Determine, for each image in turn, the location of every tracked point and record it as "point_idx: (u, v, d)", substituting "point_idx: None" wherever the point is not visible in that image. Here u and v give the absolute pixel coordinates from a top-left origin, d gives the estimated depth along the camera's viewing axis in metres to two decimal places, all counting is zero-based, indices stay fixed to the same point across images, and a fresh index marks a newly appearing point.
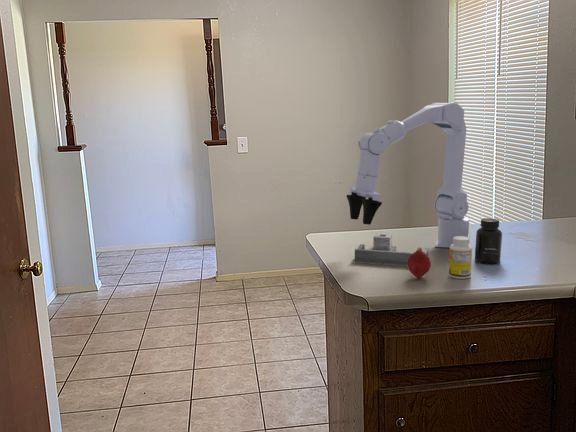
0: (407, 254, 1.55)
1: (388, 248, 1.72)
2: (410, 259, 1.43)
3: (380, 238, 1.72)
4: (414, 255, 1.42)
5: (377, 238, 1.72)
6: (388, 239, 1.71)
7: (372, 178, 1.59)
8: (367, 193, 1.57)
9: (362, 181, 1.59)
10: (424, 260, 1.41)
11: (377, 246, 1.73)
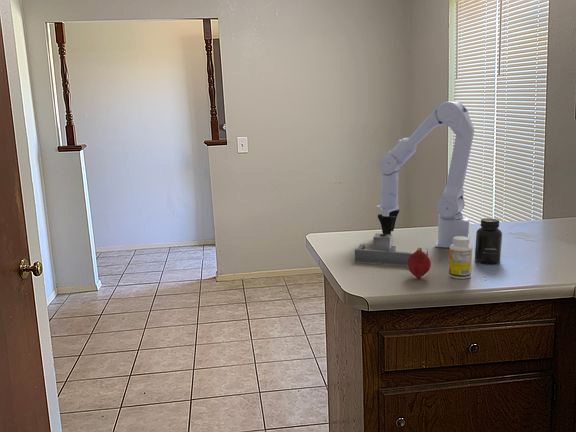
0: (407, 254, 1.55)
1: (388, 248, 1.72)
2: (410, 259, 1.43)
3: (380, 238, 1.72)
4: (414, 255, 1.42)
5: (377, 238, 1.72)
6: (388, 239, 1.71)
7: (388, 196, 1.80)
8: (381, 209, 1.80)
9: (381, 198, 1.82)
10: (424, 260, 1.41)
11: (377, 246, 1.73)
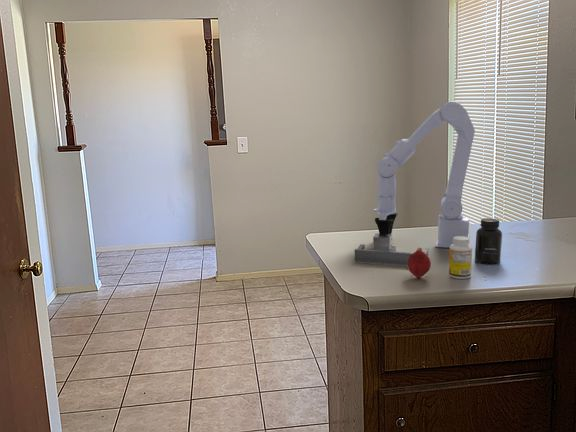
0: (407, 254, 1.55)
1: (388, 248, 1.71)
2: (410, 259, 1.43)
3: (380, 238, 1.71)
4: (414, 255, 1.42)
5: (377, 238, 1.72)
6: (388, 239, 1.71)
7: (385, 199, 1.75)
8: (378, 213, 1.75)
9: (378, 201, 1.77)
10: (424, 260, 1.41)
11: (377, 247, 1.72)
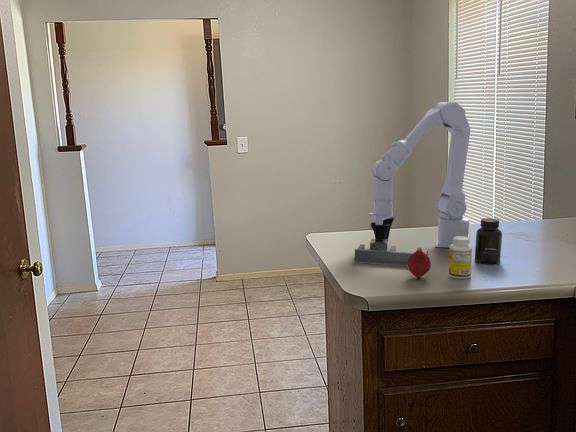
0: (407, 254, 1.55)
1: None
2: (410, 259, 1.43)
3: (377, 244, 1.64)
4: (414, 255, 1.42)
5: (374, 244, 1.65)
6: (385, 245, 1.64)
7: (381, 203, 1.69)
8: (375, 217, 1.69)
9: (374, 205, 1.71)
10: (424, 260, 1.41)
11: None
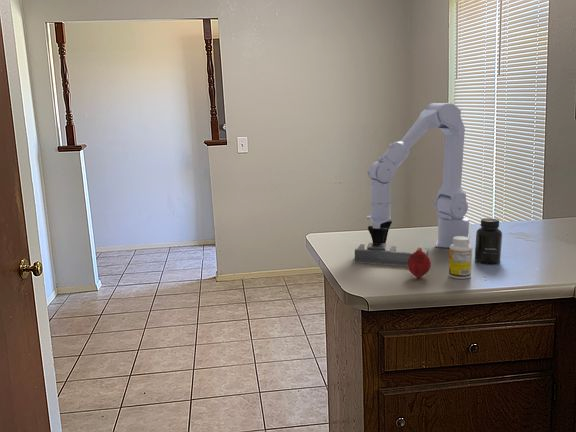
0: (407, 254, 1.55)
1: None
2: (410, 259, 1.43)
3: (374, 248, 1.60)
4: (414, 255, 1.42)
5: (371, 248, 1.60)
6: (383, 249, 1.59)
7: (379, 206, 1.64)
8: (372, 221, 1.64)
9: (371, 208, 1.66)
10: (424, 260, 1.41)
11: None
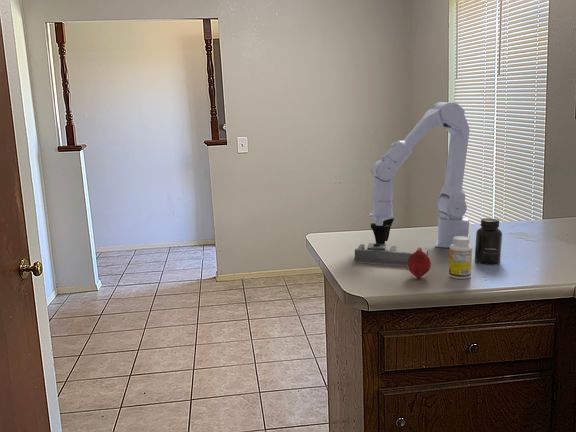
0: (407, 254, 1.55)
1: None
2: (410, 259, 1.43)
3: (374, 249, 1.60)
4: (414, 255, 1.42)
5: (371, 249, 1.60)
6: (383, 250, 1.59)
7: (381, 204, 1.68)
8: (375, 218, 1.68)
9: (374, 206, 1.70)
10: (424, 260, 1.41)
11: None
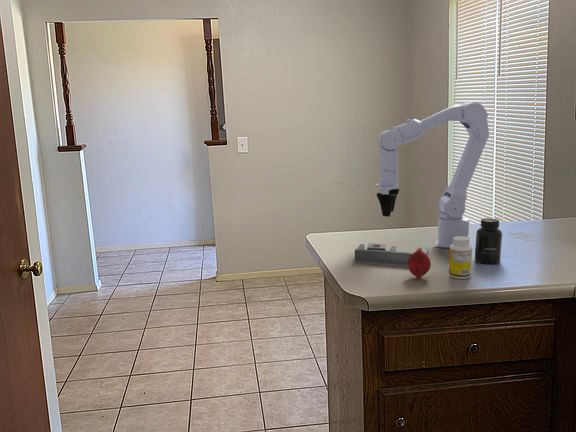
0: (407, 254, 1.55)
1: None
2: (410, 259, 1.43)
3: (374, 249, 1.60)
4: (414, 255, 1.42)
5: (371, 249, 1.60)
6: (383, 249, 1.59)
7: (387, 173, 1.69)
8: (380, 187, 1.69)
9: (380, 176, 1.71)
10: (424, 260, 1.41)
11: None
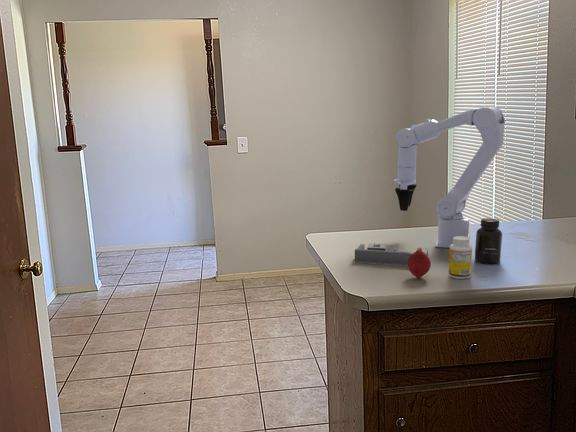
0: (407, 254, 1.55)
1: None
2: (410, 259, 1.43)
3: (374, 249, 1.60)
4: (414, 255, 1.42)
5: (371, 249, 1.60)
6: (383, 249, 1.59)
7: (405, 169, 1.77)
8: (399, 183, 1.77)
9: (398, 172, 1.79)
10: (424, 260, 1.41)
11: None
